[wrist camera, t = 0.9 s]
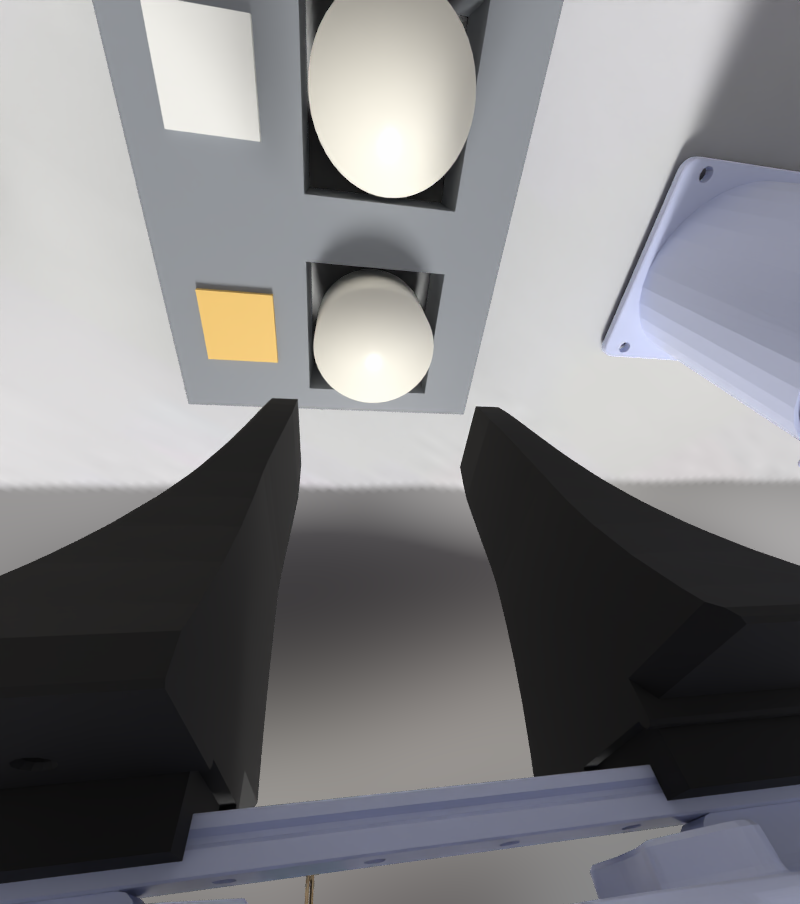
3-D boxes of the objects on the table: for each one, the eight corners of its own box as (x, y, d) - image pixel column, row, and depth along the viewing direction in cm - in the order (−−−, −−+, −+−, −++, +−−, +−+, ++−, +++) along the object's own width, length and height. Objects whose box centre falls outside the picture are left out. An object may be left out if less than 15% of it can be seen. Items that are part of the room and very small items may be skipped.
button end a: (430, 274, 16) (443, 294, 14) (415, 375, 18) (424, 405, 16) (316, 263, 15) (312, 282, 13) (318, 370, 18) (314, 400, 16)
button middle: (468, 18, 12) (494, -9, 10) (442, 196, 14) (457, 206, 12) (312, -13, 11) (305, -48, 9) (315, 181, 14) (310, 188, 11)
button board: (649, -541, 8) (759, -787, 6) (452, 388, 21) (464, 416, 19) (-42, -849, 6) (-245, -1366, 4) (205, 376, 19) (187, 406, 17)
